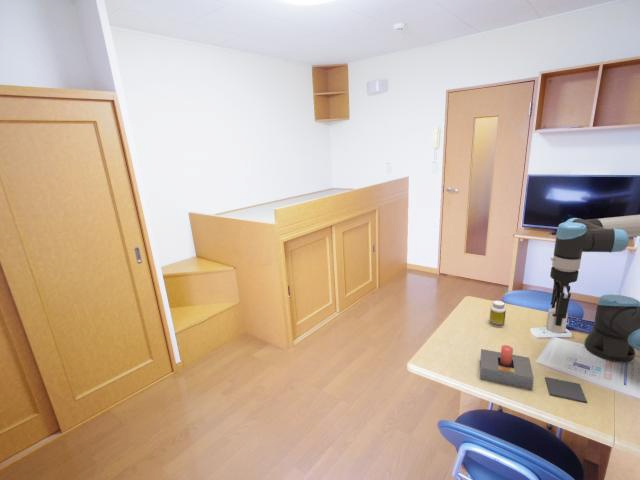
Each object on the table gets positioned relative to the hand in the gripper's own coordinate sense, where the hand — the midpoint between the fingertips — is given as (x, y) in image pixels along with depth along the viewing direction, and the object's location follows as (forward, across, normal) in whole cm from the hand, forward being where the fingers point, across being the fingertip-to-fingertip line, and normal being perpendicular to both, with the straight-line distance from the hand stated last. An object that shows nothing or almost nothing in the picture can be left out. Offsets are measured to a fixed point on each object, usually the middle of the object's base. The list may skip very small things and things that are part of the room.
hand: (554, 329), depth 119 cm
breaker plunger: (+12, +9, -15) cm, 21 cm away
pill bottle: (+17, -28, -16) cm, 37 cm away
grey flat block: (+17, +8, -15) cm, 24 cm away
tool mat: (+17, +10, +3) cm, 20 cm away
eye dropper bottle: (0, 0, 0) cm, 1 cm away
